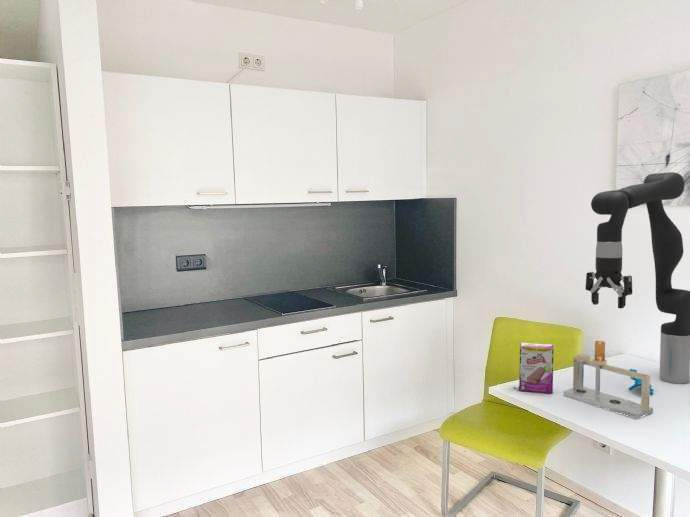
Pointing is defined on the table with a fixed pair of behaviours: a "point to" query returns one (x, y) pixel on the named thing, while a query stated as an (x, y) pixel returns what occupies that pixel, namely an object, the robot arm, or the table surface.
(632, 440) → the table surface
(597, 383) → the cylinder
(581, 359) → the divider frame
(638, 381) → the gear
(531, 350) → the candy bar box
